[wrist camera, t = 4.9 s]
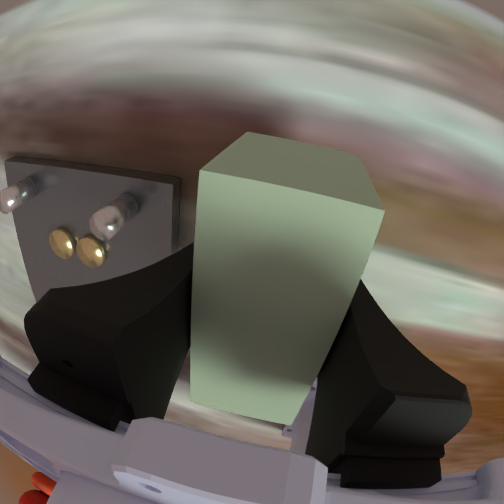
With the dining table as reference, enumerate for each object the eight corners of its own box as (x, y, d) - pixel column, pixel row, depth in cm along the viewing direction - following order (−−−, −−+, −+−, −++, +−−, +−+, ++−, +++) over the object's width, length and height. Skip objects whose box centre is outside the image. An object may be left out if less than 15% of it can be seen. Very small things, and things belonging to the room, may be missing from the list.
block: (302, 337, 15) (290, 425, 11) (222, 319, 16) (190, 401, 11) (358, 155, 11) (384, 210, 6) (247, 131, 11) (199, 169, 7)
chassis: (179, 373, 24) (164, 408, 21) (53, 325, 25) (33, 350, 22) (181, 178, 16) (149, 205, 13) (14, 156, 17) (-23, 174, 14)
